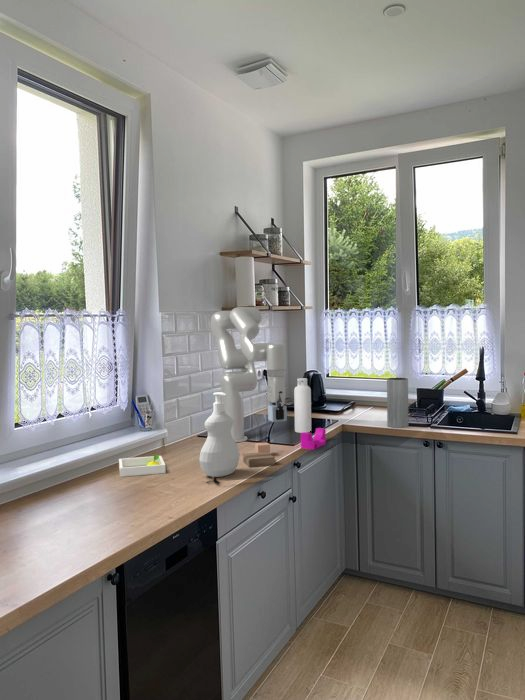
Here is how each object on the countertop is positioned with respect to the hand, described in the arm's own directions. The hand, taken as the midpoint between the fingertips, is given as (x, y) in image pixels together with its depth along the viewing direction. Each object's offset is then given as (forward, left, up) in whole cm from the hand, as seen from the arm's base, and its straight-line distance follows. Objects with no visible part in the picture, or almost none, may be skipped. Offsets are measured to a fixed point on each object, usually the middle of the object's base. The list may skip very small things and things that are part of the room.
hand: (277, 417), depth 226 cm
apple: (0, -50, -20) cm, 54 cm away
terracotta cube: (-3, -6, -16) cm, 17 cm away
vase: (-26, +69, -16) cm, 76 cm away
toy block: (-10, +21, -16) cm, 28 cm away
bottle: (-37, +24, -16) cm, 47 cm away
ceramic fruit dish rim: (+4, -55, -16) cm, 57 cm away
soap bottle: (+21, -28, -16) cm, 38 cm away
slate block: (0, 0, -1) cm, 1 cm away
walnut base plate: (+9, -11, -16) cm, 21 cm away
